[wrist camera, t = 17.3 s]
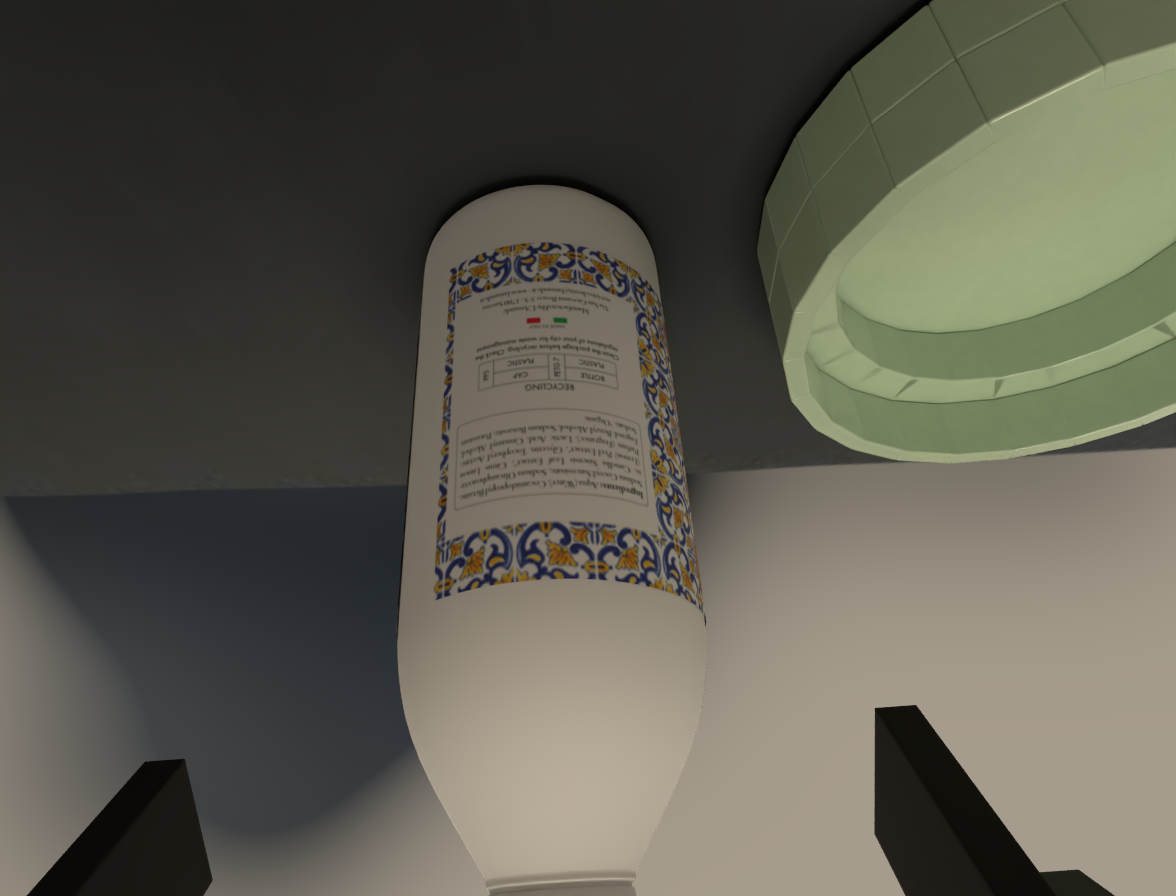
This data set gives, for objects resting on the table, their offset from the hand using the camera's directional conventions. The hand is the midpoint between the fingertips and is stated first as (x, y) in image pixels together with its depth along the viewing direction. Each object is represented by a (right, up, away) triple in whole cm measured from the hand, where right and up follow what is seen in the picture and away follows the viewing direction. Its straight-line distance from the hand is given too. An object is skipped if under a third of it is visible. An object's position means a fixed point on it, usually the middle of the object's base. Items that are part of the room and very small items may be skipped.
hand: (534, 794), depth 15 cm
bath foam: (0, +12, +9) cm, 15 cm away
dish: (+14, +14, +8) cm, 21 cm away
